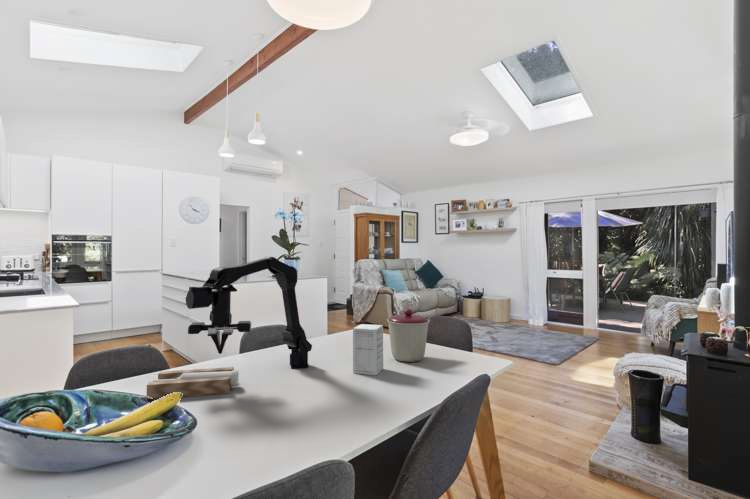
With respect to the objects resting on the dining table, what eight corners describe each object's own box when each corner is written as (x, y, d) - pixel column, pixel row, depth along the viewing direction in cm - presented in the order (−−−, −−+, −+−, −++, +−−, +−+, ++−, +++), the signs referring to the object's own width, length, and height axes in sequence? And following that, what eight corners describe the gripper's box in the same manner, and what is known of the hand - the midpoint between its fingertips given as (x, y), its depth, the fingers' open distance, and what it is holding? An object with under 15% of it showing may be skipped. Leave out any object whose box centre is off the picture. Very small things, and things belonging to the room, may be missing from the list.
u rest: (233, 379, 129) (233, 367, 129) (228, 393, 117) (228, 379, 117) (160, 385, 124) (160, 371, 124) (146, 400, 111) (146, 385, 111)
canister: (377, 358, 157) (378, 308, 157) (405, 351, 170) (406, 304, 170) (410, 368, 144) (411, 313, 145) (438, 359, 157) (438, 309, 157)
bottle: (236, 372, 120) (150, 378, 114) (236, 389, 120) (150, 394, 114) (238, 367, 125) (156, 372, 119) (238, 383, 125) (156, 388, 119)
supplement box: (383, 368, 144) (384, 324, 144) (376, 376, 135) (377, 329, 135) (360, 366, 146) (360, 323, 147) (352, 373, 138) (352, 327, 138)
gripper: (252, 302, 133) (252, 346, 132) (195, 303, 128) (195, 348, 128) (250, 306, 122) (249, 354, 122) (188, 307, 117) (187, 357, 117)
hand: (220, 353), depth 122 cm, fingers closed
